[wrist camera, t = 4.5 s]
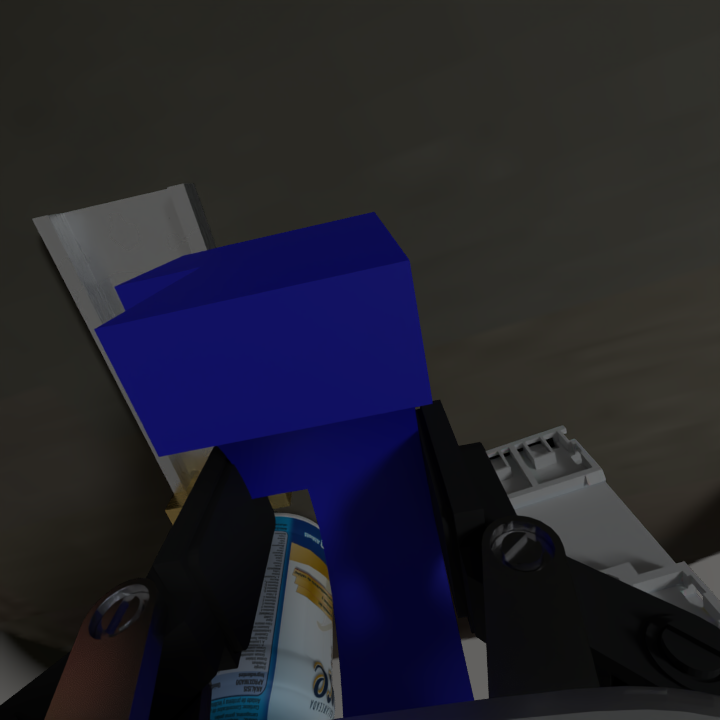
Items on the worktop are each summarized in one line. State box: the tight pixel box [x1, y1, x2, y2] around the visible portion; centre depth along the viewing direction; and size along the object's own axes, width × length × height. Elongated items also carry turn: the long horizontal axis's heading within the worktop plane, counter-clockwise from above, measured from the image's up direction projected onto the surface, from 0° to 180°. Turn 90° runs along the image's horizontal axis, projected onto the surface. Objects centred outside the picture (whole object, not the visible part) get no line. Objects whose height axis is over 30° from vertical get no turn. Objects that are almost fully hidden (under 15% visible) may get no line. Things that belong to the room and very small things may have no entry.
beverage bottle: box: [210, 513, 335, 720], centre depth 22 cm, size 8×8×20 cm
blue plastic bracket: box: [94, 212, 474, 718], centre depth 9 cm, size 12×4×6 cm, turn 12°
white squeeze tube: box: [32, 183, 292, 524], centre depth 23 cm, size 8×19×3 cm, turn 12°
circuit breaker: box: [486, 425, 720, 629], centre depth 24 cm, size 8×14×15 cm, turn 22°
